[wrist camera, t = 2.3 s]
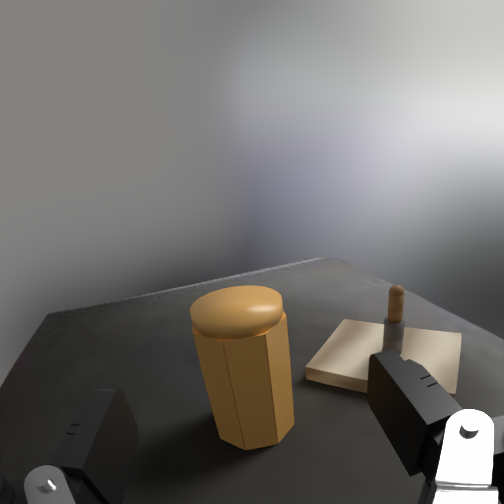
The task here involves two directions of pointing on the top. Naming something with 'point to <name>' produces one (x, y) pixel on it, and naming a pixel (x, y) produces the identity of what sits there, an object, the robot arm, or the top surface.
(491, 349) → the top surface
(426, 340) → the post board
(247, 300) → the octagonal lidded canister
